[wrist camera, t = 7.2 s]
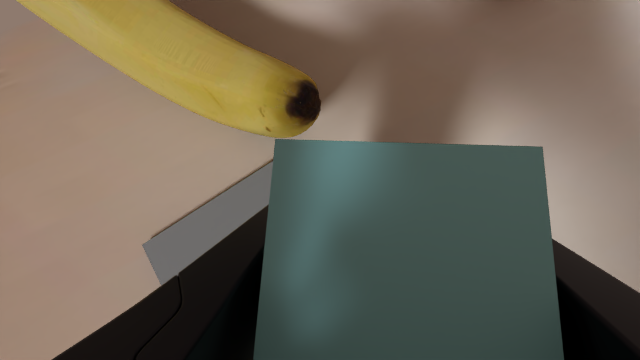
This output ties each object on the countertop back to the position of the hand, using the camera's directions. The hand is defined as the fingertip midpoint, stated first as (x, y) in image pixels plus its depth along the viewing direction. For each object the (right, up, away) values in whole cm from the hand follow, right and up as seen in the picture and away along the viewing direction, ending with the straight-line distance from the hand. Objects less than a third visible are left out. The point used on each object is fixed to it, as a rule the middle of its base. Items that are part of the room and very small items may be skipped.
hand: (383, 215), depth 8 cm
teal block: (+1, -3, +7) cm, 7 cm away
